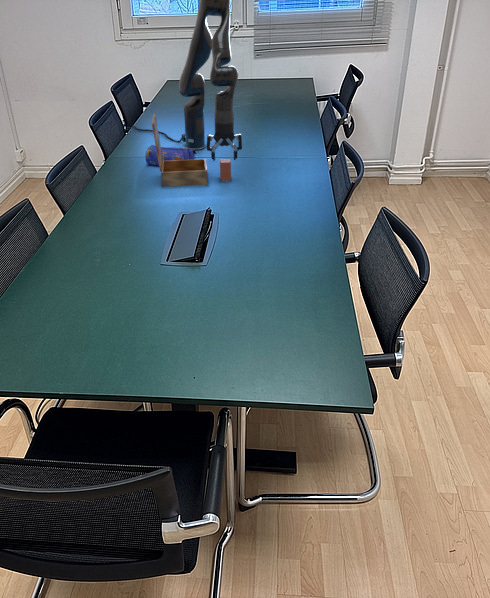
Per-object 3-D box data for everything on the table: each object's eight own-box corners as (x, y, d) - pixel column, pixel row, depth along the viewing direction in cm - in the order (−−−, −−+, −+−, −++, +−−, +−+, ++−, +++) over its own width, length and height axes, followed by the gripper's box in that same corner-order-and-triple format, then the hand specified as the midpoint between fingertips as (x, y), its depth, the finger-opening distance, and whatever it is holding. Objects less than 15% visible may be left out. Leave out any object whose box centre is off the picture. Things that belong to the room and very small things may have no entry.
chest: (206, 174, 237) (205, 158, 233) (207, 186, 226) (207, 170, 222) (163, 175, 237) (162, 160, 233) (162, 188, 225) (161, 172, 221)
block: (230, 178, 232) (230, 158, 227) (230, 182, 229) (230, 162, 224) (220, 178, 232) (219, 159, 227) (220, 182, 229) (220, 162, 224)
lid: (155, 113, 221) (153, 113, 221) (153, 123, 210) (151, 124, 210) (162, 159, 232) (161, 159, 232) (162, 171, 221) (160, 171, 221)
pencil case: (197, 165, 245) (196, 144, 240) (190, 172, 239) (189, 151, 233) (152, 161, 251) (150, 140, 246) (144, 167, 245) (142, 146, 239)
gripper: (241, 116, 219) (240, 155, 229) (205, 117, 219) (206, 157, 229) (243, 122, 213) (242, 162, 223) (206, 123, 213) (207, 163, 222)
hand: (224, 159), depth 226 cm, fingers open, 8 cm apart
